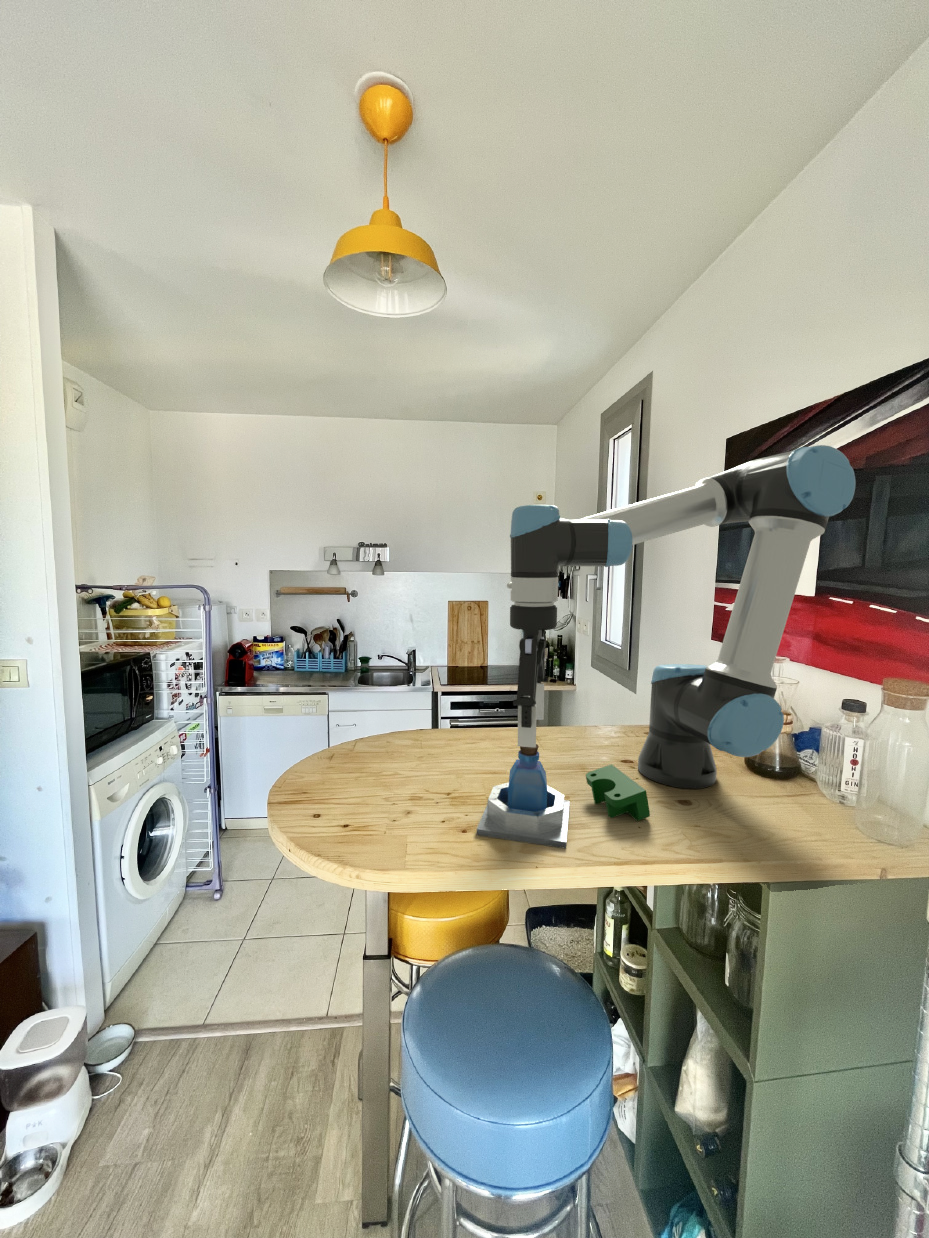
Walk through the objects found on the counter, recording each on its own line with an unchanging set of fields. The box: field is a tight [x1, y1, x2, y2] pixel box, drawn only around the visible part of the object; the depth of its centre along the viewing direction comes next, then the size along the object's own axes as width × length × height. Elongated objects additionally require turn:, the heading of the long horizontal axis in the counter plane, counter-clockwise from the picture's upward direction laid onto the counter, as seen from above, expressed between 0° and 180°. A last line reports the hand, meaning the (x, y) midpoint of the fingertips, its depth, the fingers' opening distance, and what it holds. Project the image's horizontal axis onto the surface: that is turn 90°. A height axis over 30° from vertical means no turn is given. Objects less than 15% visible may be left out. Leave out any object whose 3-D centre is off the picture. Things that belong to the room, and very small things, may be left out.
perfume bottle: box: [508, 743, 548, 812], centre depth 86 cm, size 6×6×12 cm
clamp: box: [585, 763, 651, 822], centre depth 91 cm, size 12×6×9 cm, turn 8°
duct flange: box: [475, 782, 571, 849], centre depth 87 cm, size 14×14×4 cm
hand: (531, 731), depth 85 cm, fingers open, 13 cm apart
